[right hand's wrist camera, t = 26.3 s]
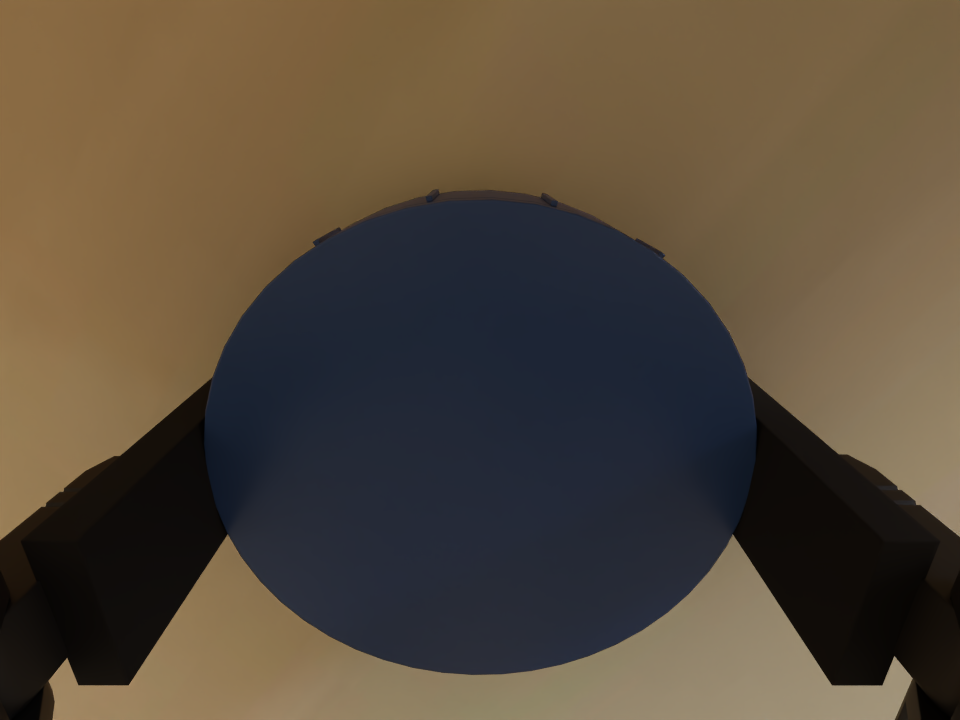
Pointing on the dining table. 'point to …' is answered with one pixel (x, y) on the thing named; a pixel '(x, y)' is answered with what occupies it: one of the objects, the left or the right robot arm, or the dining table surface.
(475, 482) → the lid
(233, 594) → the dining table surface
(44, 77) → the dining table surface
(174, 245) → the dining table surface
